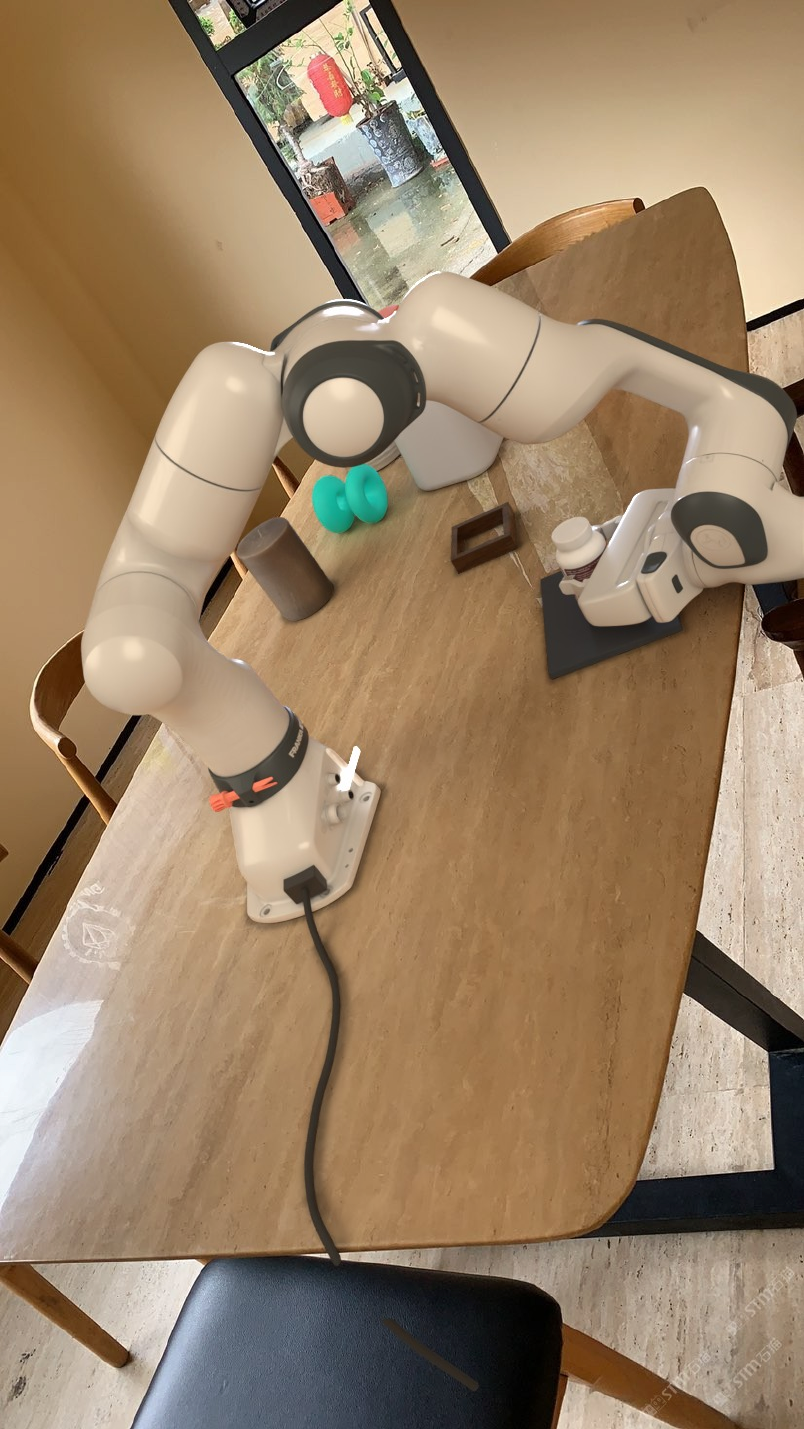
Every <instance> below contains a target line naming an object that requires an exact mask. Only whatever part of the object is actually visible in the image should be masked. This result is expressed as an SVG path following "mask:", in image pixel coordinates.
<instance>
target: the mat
mask: <svg viewBox="0 0 804 1429" xmlns="http://www.w3.org/2000/svg"><path fill="white" fill-rule="evenodd" d="M563 577H564V575H563V573H562V571H561V570H559V571H557V572H554V573H552V574H550V575H547V576H544V577H542V578H540V580H539V581H540V590H541V591H540V592H541V601H542V602H541V603H542V612H543V614H542V615H543V624H544V626H543V627H544V634H545V635H544V636H545V648H546V660H547V670H548V675H549V678H551V680H555V679H557V678H561V677H563V676H565V675H568V674H570V673H573V672H576V671H578V670H579V671H580V670H582V669H584V668H587V667H589V666H592V665H595V664H597V663H601V662H603V661H605V660H608V659H610V658H613V657H616V656H618V655H621V654H624V653H627V652H630V651H632V650H634V649H637V648H639V647H643V646H645V645H647V644H650V643H653V642H657V641H658V640H661V639H664V638H667V637H669V636H672V635H675V634H677V633H679V632H682V631H683V630H684V628H683V626H682V621H681V618H680V613H679V614H678V615H677V616H676V617H675V618H674V619H673V620H671V621H669V622H665V623H659V622H656V620H655V619H654V617H653V616H651V617H650V618H649V619H647V620H646V621H644V622H641V623H637V624H632V625H622V626H594V625H592V624H590V623H589V622H588V621H587V620H586V618H585V616H584V615H583V613H582V611H581V609H580V607H579V605H578V601H577V599H576V598H575V596H574V594H570V595H566V594H563V593H562V591H561V589H560V587H559V584H560V582H561V580H562V579H563Z"/></svg>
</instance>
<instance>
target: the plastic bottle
mask: <svg viewBox="0 0 804 1429" xmlns="http://www.w3.org/2000/svg"><path fill="white" fill-rule="evenodd" d="M399 305H400V304H395V303H394V304H390V305H387V306H385V307H383V308H381V309H380V310H378V311H377V312H378V313H379V314H380V315H381V316H382V317H383V318H384V319H387V318H389V317H390V316H391V315H393V313H394V312H395V311H397V310H398V308H399ZM419 404H420V402H418V403H417V406H419ZM504 439H505V438H504V437H502V436H500V435H498V434H496V433H494V432H493V431H491V430H489V429H487V428H486V427H484V426H482V425H480V424H479V423H477V422H475V421H473V420H472V419H470V418H468V417H466V416H465V415H463V414H461V413H459V412H458V411H456V410H454V409H452V408H450V407H448V406H446V405H444V404H441V403H439V402H435V401H426V406H425V409H424V411H423V413H422V414H421V415H420V416H419V417H418V418H417V419H415V420H414V421H413V422H412V423H411V424H410V425H409V426H408V427H407V428H406V429H404V430H403V431H402V432H401V433H400V434H399V436H398V437H397V438H396V439H395V440H394V441H395V443H396V445H397V447H398V449H399V451H400V455H401V457H402V460H403V461H404V463H405V465H406V467H407V469H408V471H409V473H410V475H411V477H412V479H413V481H414V482H415V485H416V486H417V487H418V488H419V489H421V490H422V491H427V492H431V491H436V490H439V489H442V488H445V487H448V486H452V485H456V484H458V483H462V482H465V481H468V480H471V479H475V478H476V477H478V476H480V475H482V474H483V473H485V472H486V471H487V470H488V469H489V468H490V467H491V466H492V465H493V464H494V463H495V460H496V458H497V456H498V453H499V451H500V448H501V445H502V443H503V441H504Z"/></svg>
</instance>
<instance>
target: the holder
mask: <svg viewBox="0 0 804 1429" xmlns="http://www.w3.org/2000/svg"><path fill="white" fill-rule="evenodd" d="M516 520H517V518H516V513H515V512H514V510H513V507H512V506H511V504H510V502H509V501H506V502H504V503H502V504H500V505H498V506H495V507H493V508H491V509H489V510H486V511H484V512H482V513H480V514H477V515H475V516H473V517H471V518H468V519H466V520H464V521H462V522H459V523H457V524H455V525H452V526H451V534H450V537H451V538H450V563H451V564H452V566H453V567H454V569H455V571H456V572H457V574H459V575H460V574H461V573H464V572H466V571H468V570H471V569H473V568H476V567H477V566H480V565H483V564H485V563H487V562H489V561H492V560H494V559H497V558H498V557H501V556H504V555H507V554H508V553H511V552H512V551H515V550H517V549H518V536H517V535H518V534H517V522H516ZM500 525H502V527H503V528H502V529H503V534H501V535H498V536H497V537H496V536H495V537H494V538H491V539H489V540H487V541H485V542H483V543H480V544H477V545H475V546H474V547H470V548H468V549H466V548H465V547H466V546H465V545H466V544H465V543H466V542H465V541H467V540H469V539H471V538H473V537H476V536H478V535H481V534H482V533H485V532H487V531H489V530H491V529H494V528H496V527H498V526H500ZM465 549H466V550H465Z"/></svg>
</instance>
